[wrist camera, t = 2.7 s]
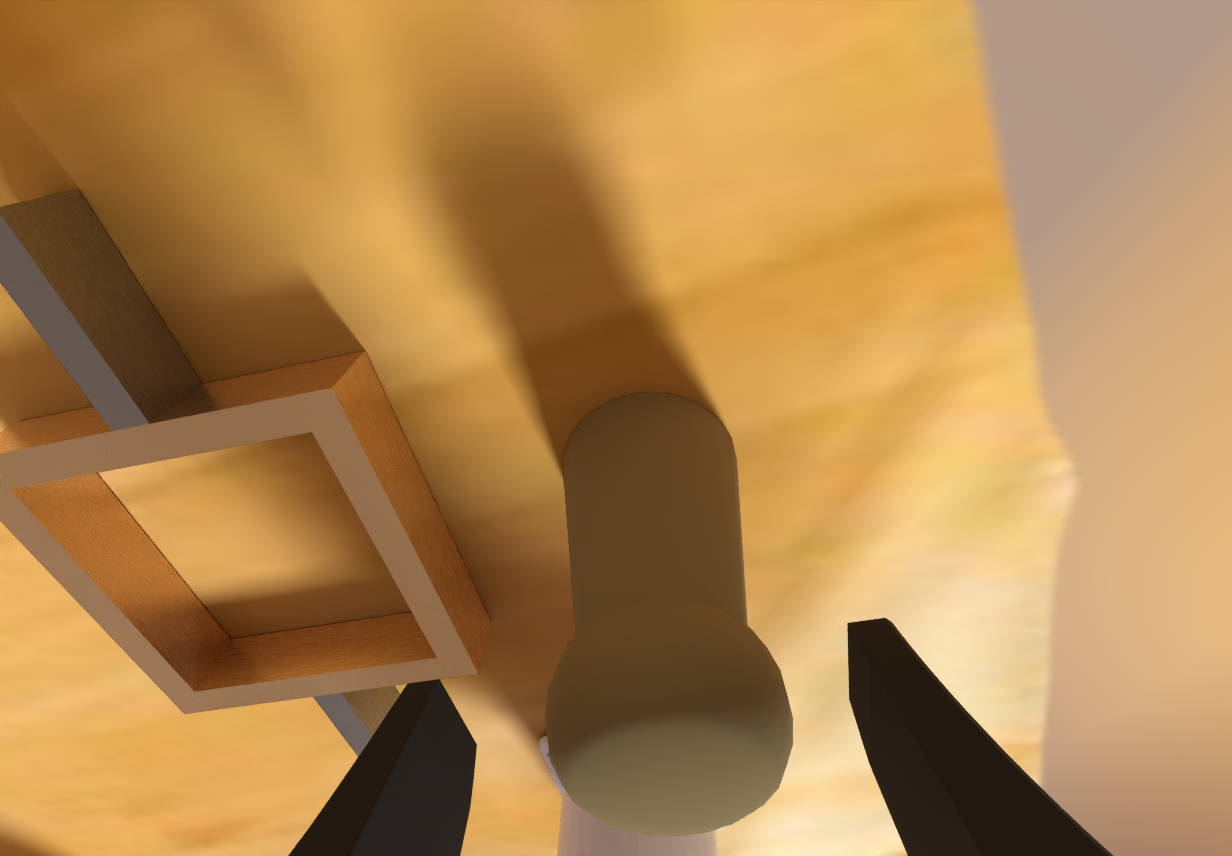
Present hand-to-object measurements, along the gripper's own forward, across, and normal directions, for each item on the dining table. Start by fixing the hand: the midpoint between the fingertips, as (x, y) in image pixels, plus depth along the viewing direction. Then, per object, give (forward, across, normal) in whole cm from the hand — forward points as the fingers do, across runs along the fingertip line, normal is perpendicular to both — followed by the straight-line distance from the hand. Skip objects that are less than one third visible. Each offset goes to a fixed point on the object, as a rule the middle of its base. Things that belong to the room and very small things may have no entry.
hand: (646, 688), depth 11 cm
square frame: (+10, +14, +2) cm, 18 cm away
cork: (+11, 0, +2) cm, 11 cm away
